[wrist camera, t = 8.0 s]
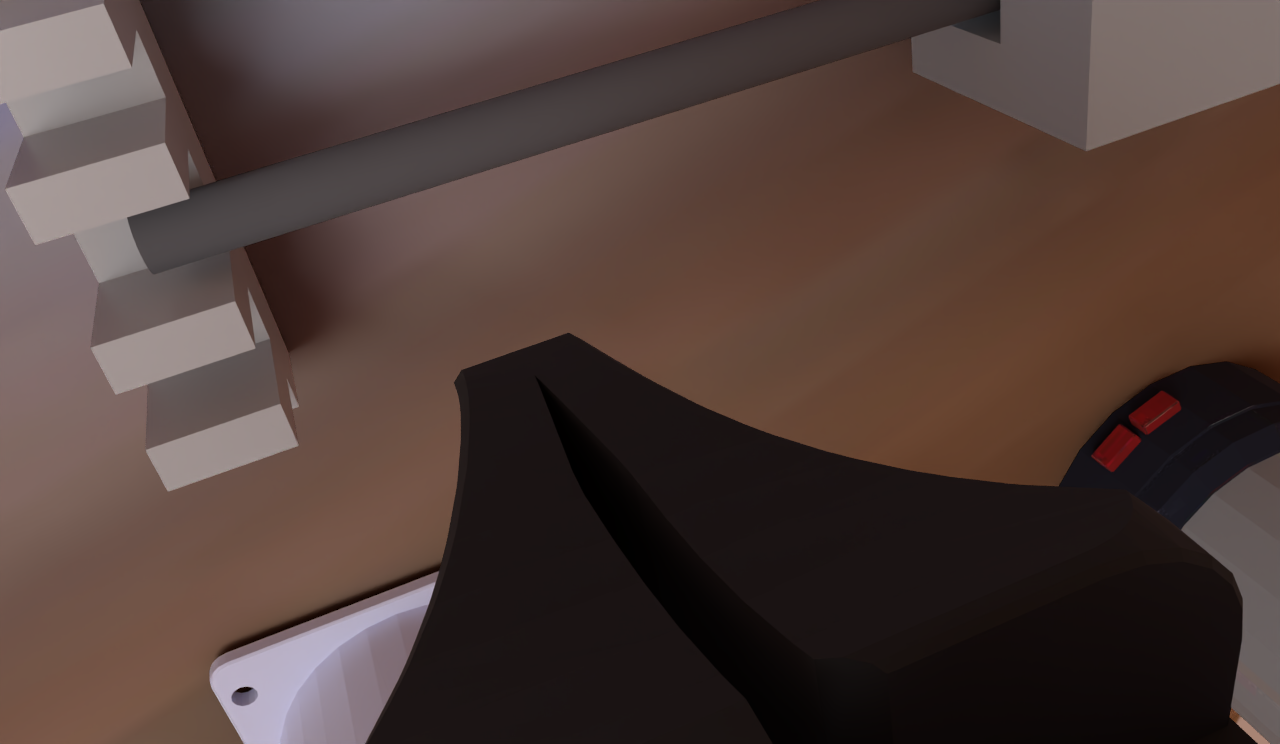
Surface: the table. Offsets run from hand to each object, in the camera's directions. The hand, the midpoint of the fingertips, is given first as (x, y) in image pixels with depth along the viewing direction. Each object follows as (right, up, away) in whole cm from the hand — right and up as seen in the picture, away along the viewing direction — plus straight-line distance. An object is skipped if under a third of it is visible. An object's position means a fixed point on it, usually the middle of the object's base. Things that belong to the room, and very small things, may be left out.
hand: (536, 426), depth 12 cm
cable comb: (-7, +4, +6) cm, 10 cm away
